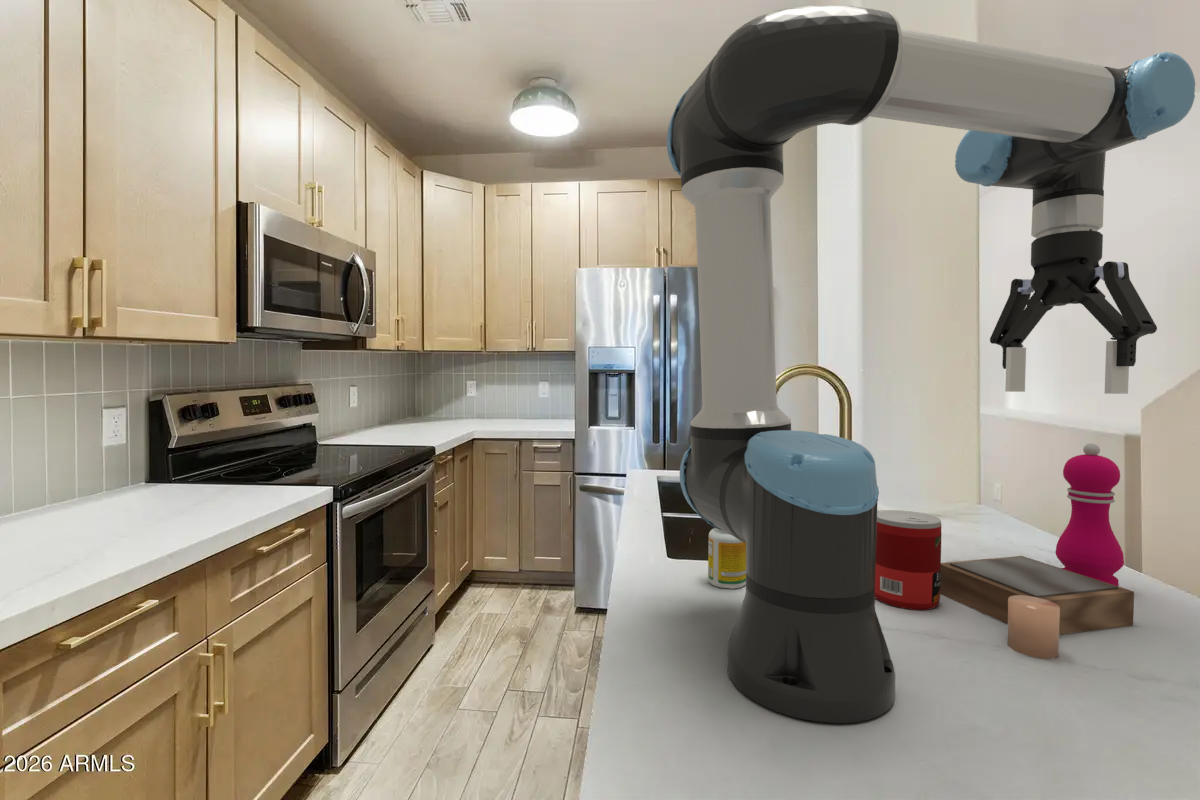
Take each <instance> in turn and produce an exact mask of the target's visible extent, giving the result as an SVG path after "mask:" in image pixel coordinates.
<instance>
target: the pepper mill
mask: <svg viewBox="0 0 1200 800" xmlns="http://www.w3.org/2000/svg"><path fill="white" fill-rule="evenodd" d="M1083 453H1084V454H1078V455H1075V456H1072V457H1071V458H1068V459H1067V461H1066V462H1065V464H1064V466H1063V470H1062V474H1063V475H1062V476H1063V478H1064V481H1066V482H1067V483H1068V484H1069V486H1070V487H1068V488H1067V489H1066V491H1067V492H1068V493H1067V495H1066V497H1067V498H1068V499H1070V503H1071V515H1070V519H1069V522H1068V524H1067V526H1066V527H1065V528H1064V530H1063V532H1062V534H1061V535H1060V536H1059V538H1058V541H1057V542H1056V546H1055V556H1056V558H1057V559H1058V561H1060V563H1061V564H1062V565H1063V566H1064V567H1061V568H1062V569H1065V570H1068V571H1071V572H1074V573H1077V574H1081V575H1084V576H1087V577H1090V578H1093V579H1096V580H1099V581H1103V582H1106V583H1109V584H1112V585H1115V586H1118V587H1119V584H1120V583H1119V579H1118V578H1117V576H1115V574H1116V573H1117V572H1119V571H1120V570H1121V569H1122V568H1123V567H1124V565H1125V559H1124V552H1123V550H1122V546H1121V545H1120V543H1119V541H1118V539H1117V537H1116V536H1115V534H1114V531H1113V529H1112V527H1111V523H1110V509H1111V508H1110V507H1111V504H1113V503H1115V501H1116V500H1115V499H1114V498H1115V497H1114V496H1115V495H1116V494H1115V492H1114V491H1113V490H1112V489H1113V488H1115V487H1116V486H1117V485H1118V484H1119V482H1120V479H1121V471H1120V468H1119V466H1118V465H1117V464H1116V462H1114V461H1113V460H1112V459H1110V458H1108V457H1106V456H1103V455H1099V454H1100V453H1101V448H1100V446H1099V445H1098V444H1096V443H1087V444H1085V445H1084V446H1083Z"/></svg>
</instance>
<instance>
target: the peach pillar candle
mask: <svg viewBox="0 0 1200 800" xmlns="http://www.w3.org/2000/svg"><path fill="white" fill-rule="evenodd" d="M1059 623H1060V607H1059V606H1058V605H1057V604H1055V603H1053V602H1051V601H1048V600H1045V599H1042V598H1037V597H1032V596H1024V595H1014V596H1010V597H1009V598H1008V624H1007V638H1006V639H1007V641H1006V643H1007V644H1006V645H1007V646H1008V647H1009V648H1010V649H1011V650H1013V651H1015V652H1016V653H1018V654H1022V655H1024V656H1028V657H1031V658H1035V659H1041V660H1042V659H1043V660H1053V659H1057V658H1058V657H1060V656H1059V655H1060V653H1059V652H1060V635H1059Z"/></svg>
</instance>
